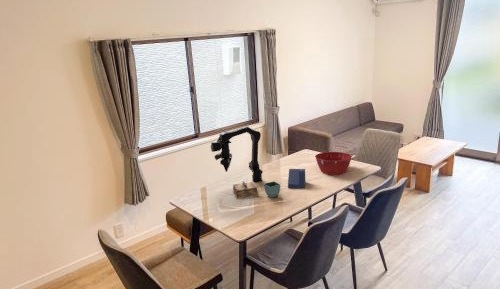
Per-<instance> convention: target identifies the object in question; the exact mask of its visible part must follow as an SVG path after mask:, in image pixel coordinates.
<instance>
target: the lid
mask: <svg viewBox="0 0 500 289" xmlns="http://www.w3.org/2000/svg"><path fill="white" fill-rule="evenodd" d="M233 186H234V187H235V189H236V191H245V190H249V189H256V188H257V189H258V187H257V186H256V184H255V182H254V181H250V182H249V181H248V182H245V181H242V183H241V182H240V183H236V184H233V185H232V187H233Z"/></svg>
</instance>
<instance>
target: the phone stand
mask: <svg viewBox="0 0 500 289" xmlns="http://www.w3.org/2000/svg"><path fill="white" fill-rule="evenodd" d="M306 181H307V180H306V168H289V169H288V179H287V188H288V189H306V188H305V187H306Z"/></svg>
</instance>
